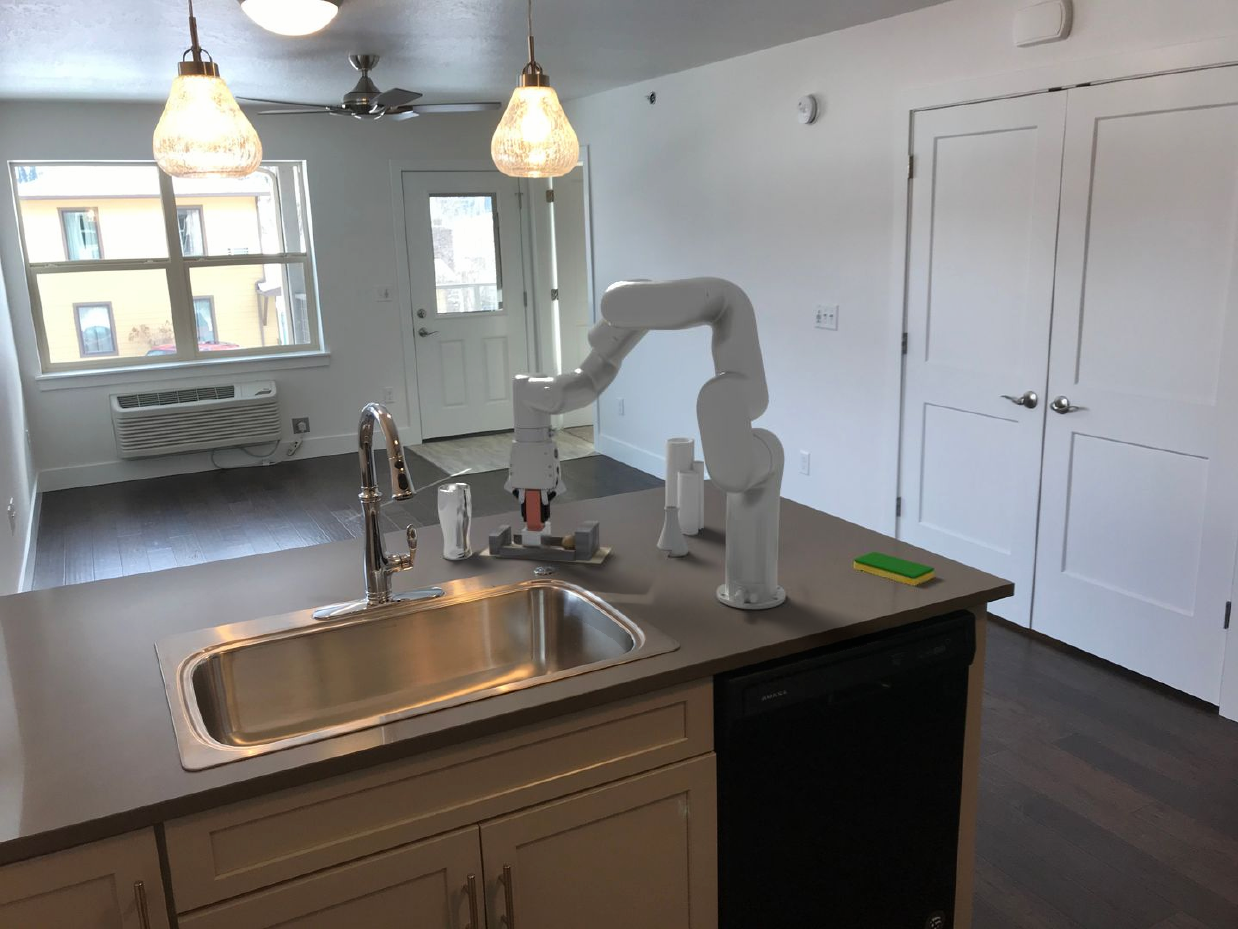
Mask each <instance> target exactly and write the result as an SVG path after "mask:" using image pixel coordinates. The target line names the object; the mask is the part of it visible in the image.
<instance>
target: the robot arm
mask: <svg viewBox="0 0 1238 929" xmlns="http://www.w3.org/2000/svg"><path fill="white" fill-rule="evenodd" d="M599 306H600V313H601V317H600V318H598V319H597V321H596V322H595V323H594V324H593V325H592V326H591V327H590V329H589V330H588V333H587V341H588V343H589V346H590V348H592V349H591V351H590V353H589V354H588V355H587V357H586V358H585V359H584V361H583V362H581V363H580V365H579V366H578V367H576V369H575V370H574V371H570V372H566V373H561V374H558V375H554V376H548V375H547V373H546V374H545V373H543V372H523V373H519V374H515V375H514V377H513V379H512V382H511V383H512V384H511V385H512V405H513V406H512V408H513V410H512V411H513V428H514V429H513V430H514V438H513V439H512V441H511V445H510V450H509V451H510V452H509V459H508V461H509V462H508V477H507V480H506V482H505V483H504V485H503V489H504V490H505V491H507V492H509V493H511V494H512V495H513V497H515V498H516V499H517V500H518V503H519V504H520V512H521V517H522V518H523V522H524V523H527V512H526V490H527V489H534V490H541V495H542V504H541V505H540V515H541V523H545V522H548V520H549V519H550V518H551V501H553V499H554V498H556V497H557V496H559V495H562V494H563V493H565V492H566V491H567V486H566V485H565V483H564V482H563V480H562V471H561V470H562V469H561V463H560V462H561V461H560V455H559V454H560V453H559V449H558V448H559V447H558V445H557V444H558V443H557V440H556V439H554V438H553V437H557V436H558V435H559V429H558V428H553V425H552V416H558V415H563V414H566V413H570V412H573V411H576V410H579V409H583V408H586V407H588V406H591V404H593V403H594V402H595V401H596V400H597V399H599V397H600V396H601V395H603V393H604V392H605V391H606V390H607V389H608V387H610V385H611V384H612V383H613V382H614V381H615V379H616V378H617V376H618V373H619V372H620V370H621V367H622V363H623V361H624V359H625V358H626V357H627V356H628V355H629V354H630V352H632V350H633V349H635V347H636V346H637V345H638V344H639V342H641V340H642V339H643V338H644V337H645V336H646V335H647V334H648V333H649V332H650V331H680V330H681V331H683V330H688V329H692V328H699V327H702V326H709V327H710V328H711V331H712V333H711V334H712V335H711V345H710V347H711V348H710V349H711V355H712V360H713V365H714V375H715V376H713V377H712V378H709V379H708V380H707V381H705V383H704V384H703V385H702V386H701V388H700V390H699V392H698V394H697V398H696V419H697V425H698V430H699V437H700V442H701V447H702V452H703V459H704V466H705V468H706V472H707V475H708V476H709V478H710V480H711V482H712V484H714V485H715V487H716V488H718V489H719V490H720V491H722V492H725V493H726V495H727V496H726V505H725V508H726V509H725V566H724V567H725V573H724V574H725V578H724V581H725V582H724V583H722V584H721V585H719V586H718V587H717V588H716V598H717V600H718V601H719V602H721V603H723V604H724V605H726V606H729V607H733V608H738V609H744V610H764V609H765V610H766V609H772V608H774V607H777V606H779V605H781V604H782V603H784V602H785V600H786V591H785V590H784V588H782V587H781V586H779V585H778V572H779V571H778V566H779V565H778V564H779V531H780V530H779V529H780V528H779V526H780V525H779V524H780V522H779V521H780V506H781V505H780V504H781V503H780V502H781V500H780V499H781V489H782V484H783V482H782V481H783V476H784V471H785V470H784V469H785V460H786V459H785V458H786V457H785V451H784V447H783V444H782V442H781V441H780V439H779V437H778V436H777V435H776V434H775V433H774V432H772V431H770V430H768V429H766V428H761V427H752V426H753V425H752V422H754V421H756V420H757V419H759V418H760V417H761V416H763V415H764V413H765V412H766V411H767V409H768V406H769V402H770V400H769V398H770V397H769V395H770V394H769V389H768V384H767V377H766V372H765V366H764V361H763V354H762V350H761V344H760V340H759V334H758V333H759V332H758V327H757V326H758V324H757V317H756V315H755V314H756V313H755V310H754V306H753V304H752V300H750V297H748V295H747V293H746V292H745V291H744V290H743V289H742V288H741V287H740V286H739V285H737V284H735V283H733V282H732V281H730V280H727V279H724V278H721V277H716V276H699V277H698V276H697V277H691V278H689V277H688V278H681V279H680V278H679V279H668V280H667V279H666V280H651V279H649V278H636V279H625V280H619V281H616V282H614V283H612V284H611V285H609V287H607V288H606V290H605V291H604V292H603V295H602V298H601V299H600V305H599Z"/></svg>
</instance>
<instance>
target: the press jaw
mask: <svg viewBox="0 0 1238 929" xmlns="http://www.w3.org/2000/svg"><path fill="white" fill-rule="evenodd" d="M541 504H542V495H541V490H534V489H527V490H526V512H527V522H526V526H525V527H524V528H523V529H522V530H521V533H522V547H530V548H546V549H547V548H548V547H549V546H550V545H551V535H552V532H551V531H552V526H551V525H552V524H551V521H546V522H545V523H541V515H540V505H541Z"/></svg>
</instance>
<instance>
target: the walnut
mask: <svg viewBox="0 0 1238 929" xmlns="http://www.w3.org/2000/svg"><path fill="white" fill-rule="evenodd" d="M564 536H565V537H564V539H563V541H562V546H563V548H564V550H575V534H568V535H564Z"/></svg>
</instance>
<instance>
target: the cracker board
mask: <svg viewBox="0 0 1238 929" xmlns="http://www.w3.org/2000/svg"><path fill="white" fill-rule="evenodd" d="M565 536H566V535H553V534H551V545H550V546H549V547H548V548H547V549H546V548H530V547H522V532H519V533H517V532H515V533H513V535H512V525H511V524H501V525H499V527H498V528H496V529H495V530H494V531H493V532H492V533H490V534H489V535H488V546H487V548H485V549H484V550H483V551H482V552H480V554H478V556H483V557H498V558H512V559H513V558H514V559H527V560H542V561H544V560H545V561H556V562H557V561H558V562H559V561H560V562H572V563H584V564H585V563H587V564H602V562H603V561H604V560H605V558H606V557H607V556H608V554H609V553H610V551H611V550H612V549H613V547H605V546H600V545H601V544H600V521H599V520H584V521H583V522H582V523H581V524H580V525H579V526H578V528H576V529H575V531H574V536H575V550H564V548H563V546H562V541H563V539H564V537H565ZM512 537H513V541H512Z"/></svg>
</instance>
